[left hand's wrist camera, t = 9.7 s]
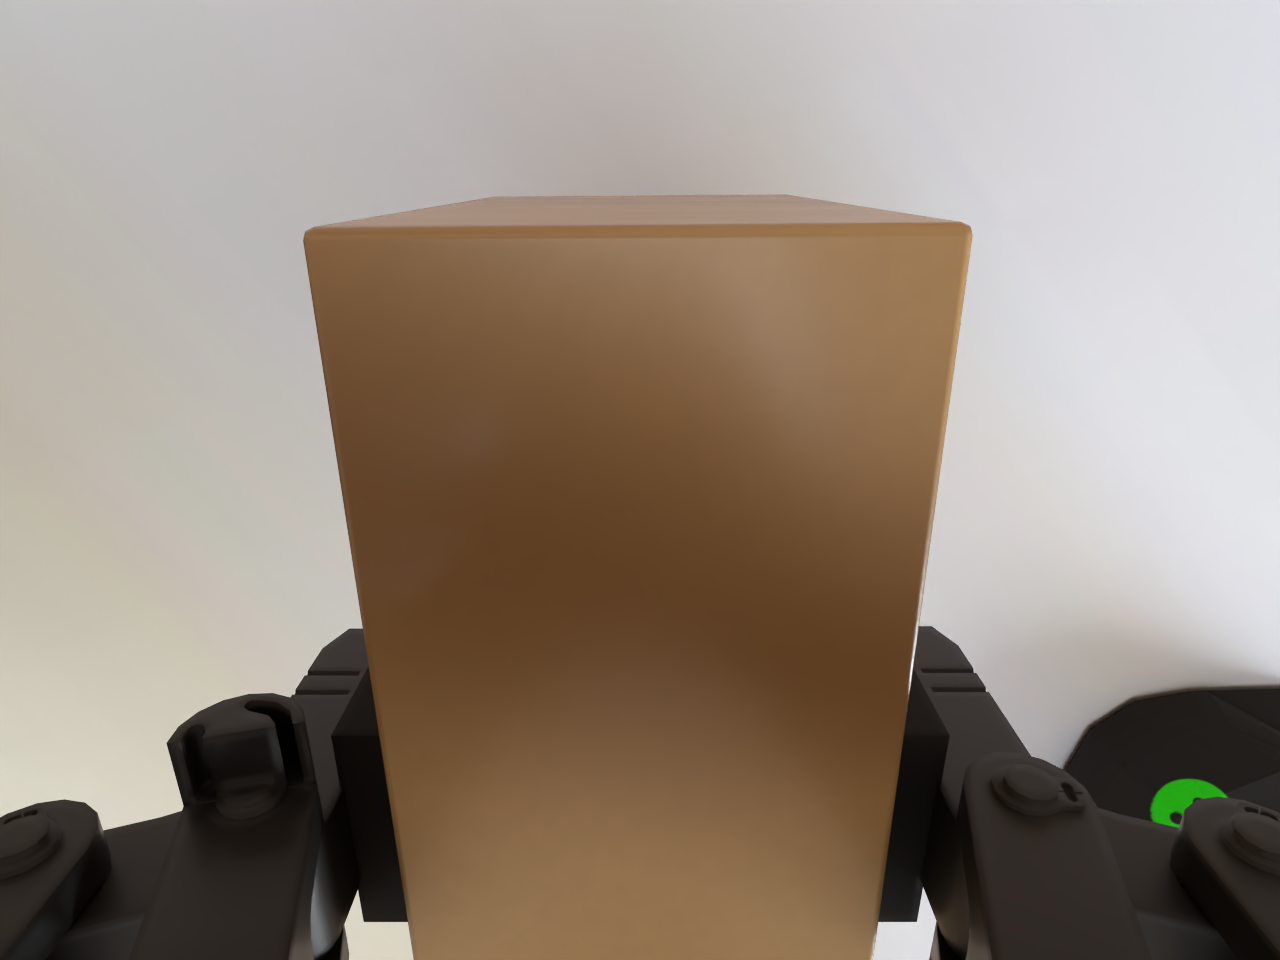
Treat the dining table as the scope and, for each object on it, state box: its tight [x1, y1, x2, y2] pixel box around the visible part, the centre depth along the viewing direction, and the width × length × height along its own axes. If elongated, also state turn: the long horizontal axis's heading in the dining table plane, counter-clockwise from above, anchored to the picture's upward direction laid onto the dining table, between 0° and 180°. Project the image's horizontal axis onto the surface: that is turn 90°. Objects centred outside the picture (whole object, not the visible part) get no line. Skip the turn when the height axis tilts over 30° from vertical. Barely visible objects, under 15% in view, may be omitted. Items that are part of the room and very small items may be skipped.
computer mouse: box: [1066, 690, 1280, 828], centre depth 31 cm, size 11×16×4 cm
